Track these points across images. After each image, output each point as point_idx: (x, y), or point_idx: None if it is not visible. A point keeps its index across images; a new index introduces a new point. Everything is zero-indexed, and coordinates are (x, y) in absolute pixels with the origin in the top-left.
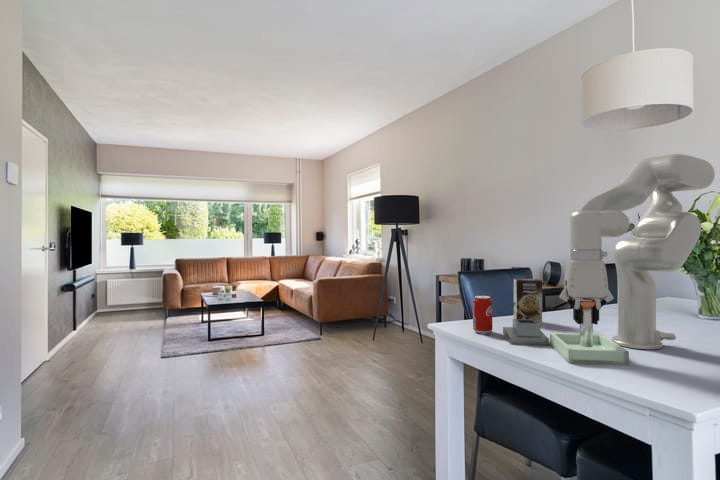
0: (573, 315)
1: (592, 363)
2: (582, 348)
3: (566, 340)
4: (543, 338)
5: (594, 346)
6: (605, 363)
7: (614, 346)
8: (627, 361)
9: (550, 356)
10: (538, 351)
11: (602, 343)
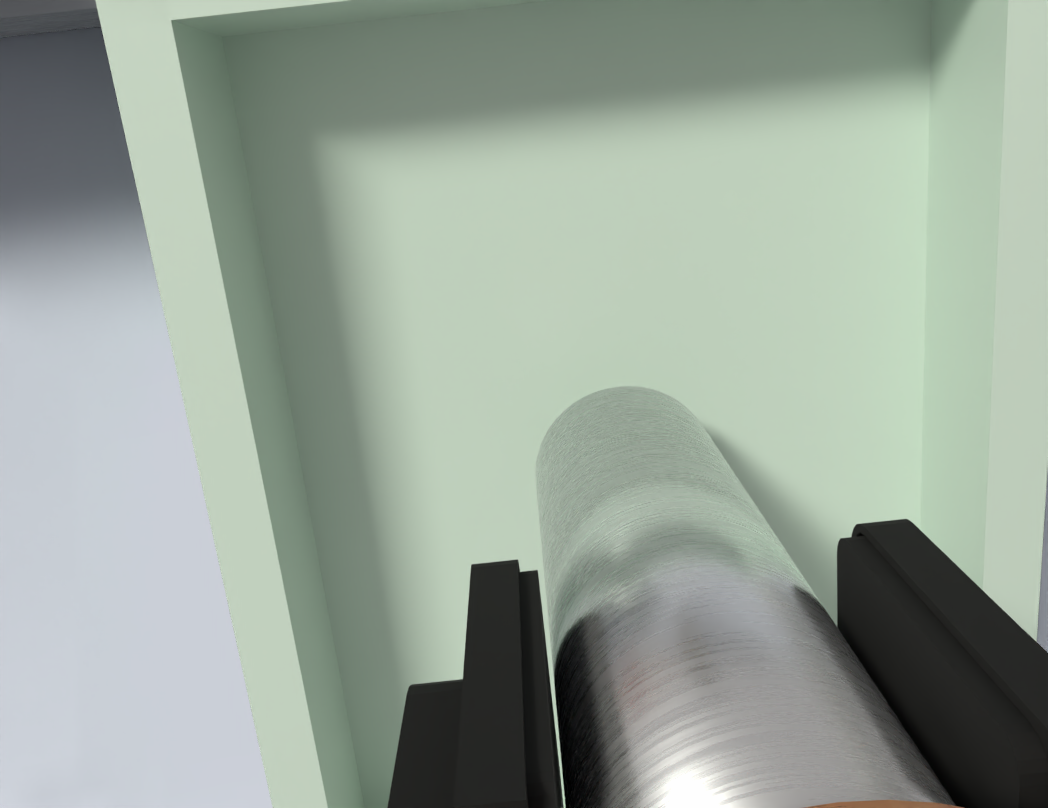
0: (404, 748)
1: None
2: (590, 338)
3: (409, 11)
4: (9, 20)
5: (801, 168)
6: None
7: None
8: None
9: (156, 627)
10: (6, 436)
11: (949, 130)
